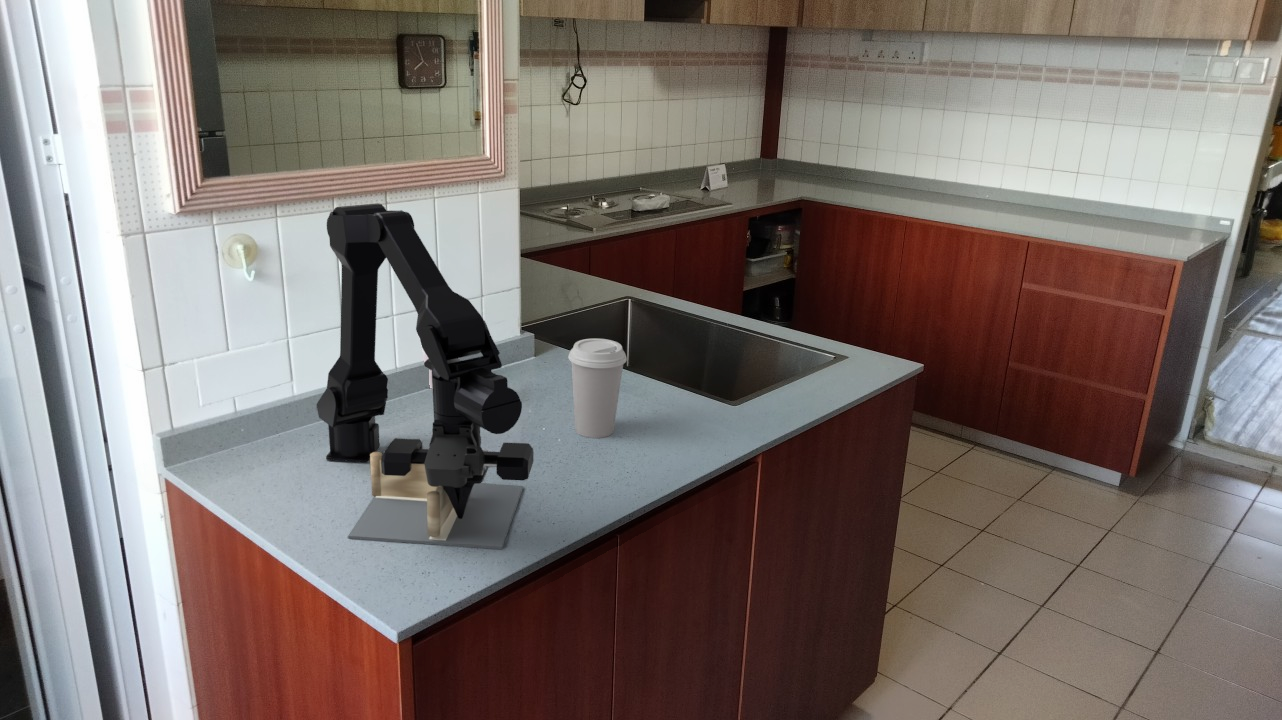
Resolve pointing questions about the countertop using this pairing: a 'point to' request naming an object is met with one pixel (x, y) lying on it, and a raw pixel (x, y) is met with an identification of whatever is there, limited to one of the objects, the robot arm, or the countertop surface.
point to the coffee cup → (596, 385)
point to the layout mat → (476, 529)
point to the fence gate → (437, 510)
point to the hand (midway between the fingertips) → (461, 517)
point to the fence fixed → (399, 481)
